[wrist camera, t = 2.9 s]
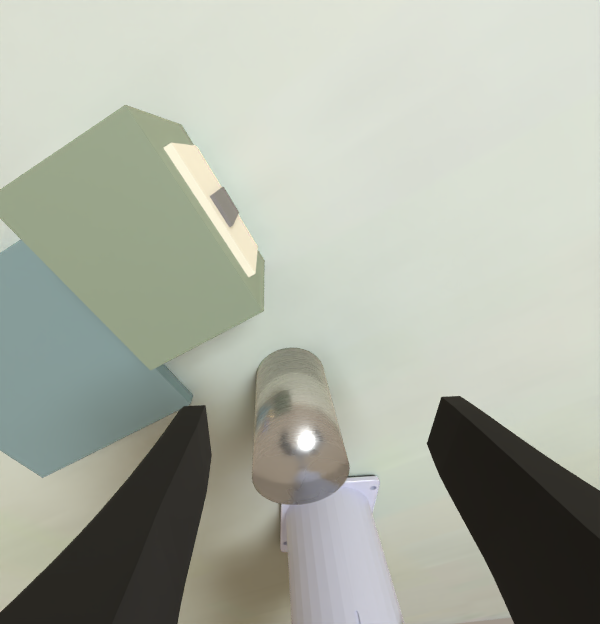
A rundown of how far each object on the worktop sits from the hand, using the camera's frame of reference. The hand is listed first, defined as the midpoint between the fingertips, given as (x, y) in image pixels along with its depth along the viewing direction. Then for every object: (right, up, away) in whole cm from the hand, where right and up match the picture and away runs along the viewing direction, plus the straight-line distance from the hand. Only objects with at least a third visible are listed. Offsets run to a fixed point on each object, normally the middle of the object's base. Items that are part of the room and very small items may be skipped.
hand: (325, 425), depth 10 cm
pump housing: (-6, +8, +6) cm, 12 cm away
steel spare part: (-1, -1, +11) cm, 11 cm away
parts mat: (-16, 0, +9) cm, 18 cm away
